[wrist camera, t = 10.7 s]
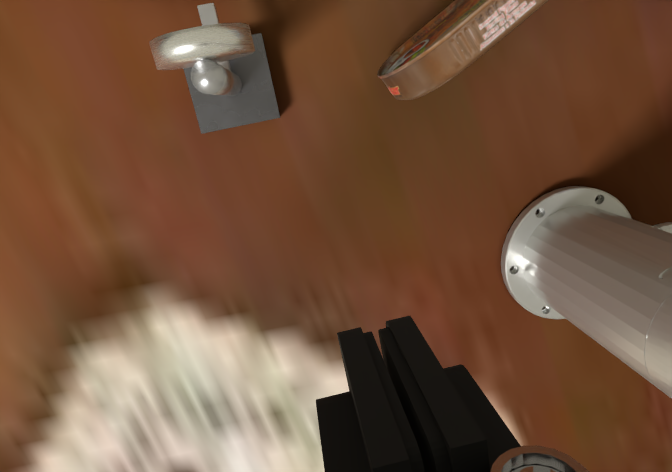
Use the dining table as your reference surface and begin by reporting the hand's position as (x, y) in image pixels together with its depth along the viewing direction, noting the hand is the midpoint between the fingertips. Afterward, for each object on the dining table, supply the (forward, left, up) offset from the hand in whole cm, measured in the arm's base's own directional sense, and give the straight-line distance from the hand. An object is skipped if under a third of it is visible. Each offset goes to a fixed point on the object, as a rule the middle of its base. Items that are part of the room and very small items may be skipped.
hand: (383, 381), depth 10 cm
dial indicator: (+4, -8, -29) cm, 30 cm away
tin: (-14, -9, -29) cm, 34 cm away
